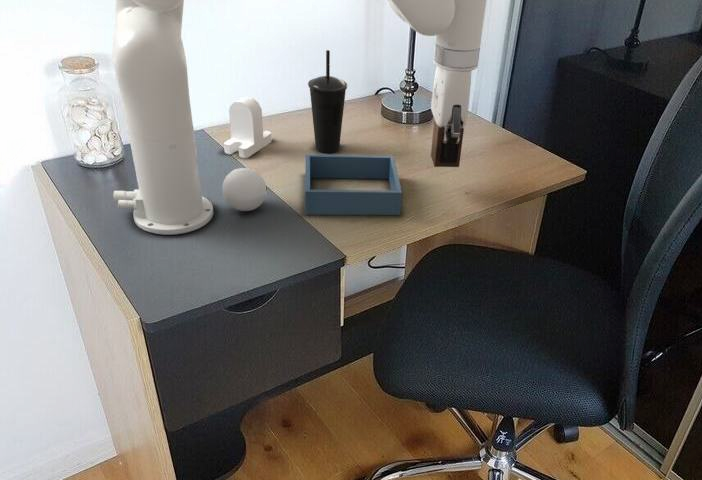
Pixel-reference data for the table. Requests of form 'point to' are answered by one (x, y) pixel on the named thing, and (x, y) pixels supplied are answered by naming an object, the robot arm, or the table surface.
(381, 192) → the desk tub
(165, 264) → the table surface
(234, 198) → the white ball
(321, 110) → the drinking cup
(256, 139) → the cable organizer
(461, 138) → the walnut block
